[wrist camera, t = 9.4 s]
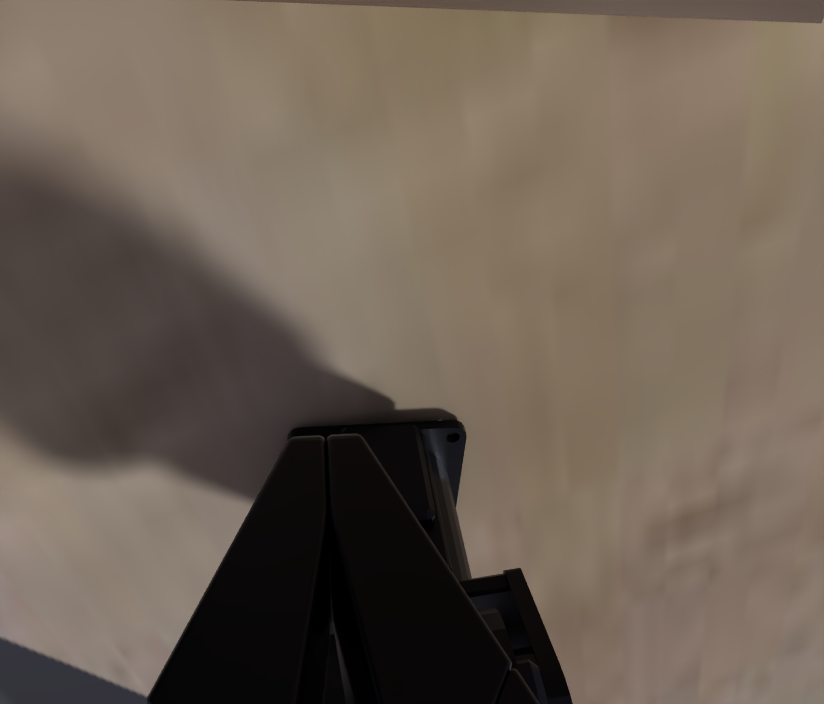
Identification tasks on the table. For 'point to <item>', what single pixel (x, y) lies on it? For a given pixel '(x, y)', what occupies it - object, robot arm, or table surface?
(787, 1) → the rail
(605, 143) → the table surface
